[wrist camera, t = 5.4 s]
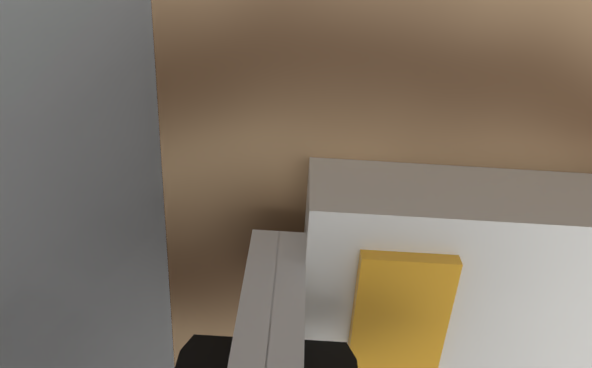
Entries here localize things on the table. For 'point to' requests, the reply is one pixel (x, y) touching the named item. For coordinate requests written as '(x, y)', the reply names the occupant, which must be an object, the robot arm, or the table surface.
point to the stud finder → (449, 264)
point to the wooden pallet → (345, 112)
